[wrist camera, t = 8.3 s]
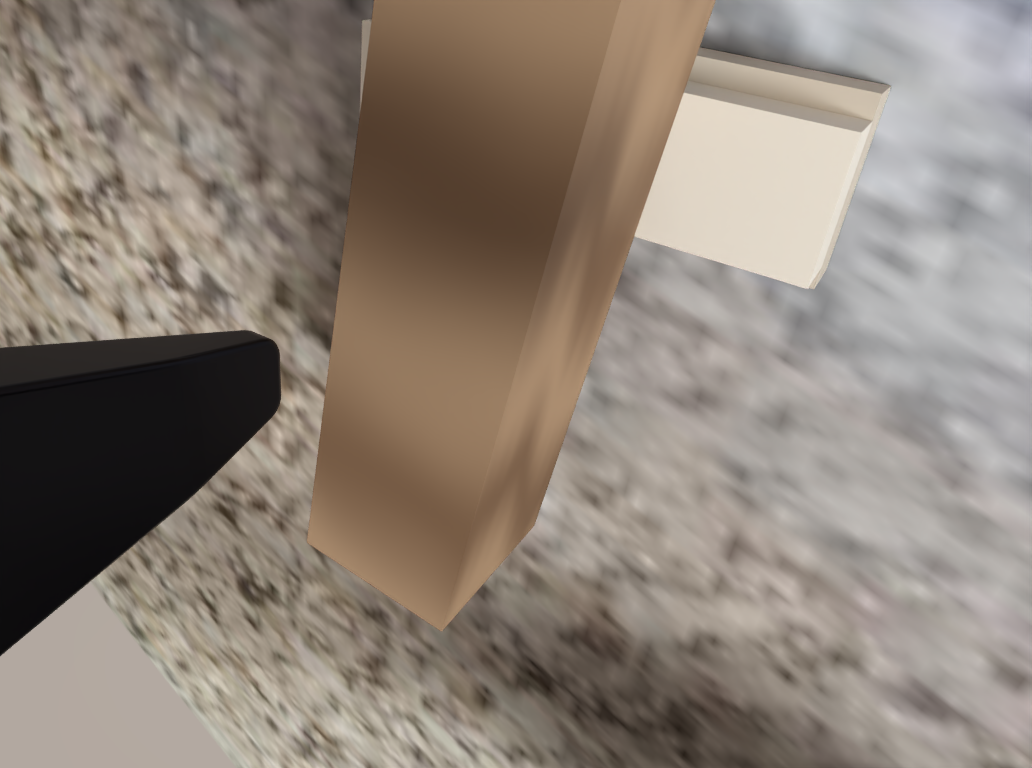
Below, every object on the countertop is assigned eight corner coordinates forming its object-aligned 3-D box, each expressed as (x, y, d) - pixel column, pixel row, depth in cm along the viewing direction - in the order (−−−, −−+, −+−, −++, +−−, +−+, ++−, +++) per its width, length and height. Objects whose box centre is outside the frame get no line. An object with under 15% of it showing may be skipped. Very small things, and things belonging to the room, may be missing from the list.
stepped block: (826, 269, 18) (799, 312, 16) (427, 152, 22) (357, 173, 20) (891, 85, 16) (871, 103, 14) (438, -6, 20) (363, -5, 18)
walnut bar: (534, 525, 21) (441, 631, 18) (415, 455, 23) (307, 542, 19) (900, -537, 10) (849, -800, 7) (633, -564, 12) (472, -799, 8)
